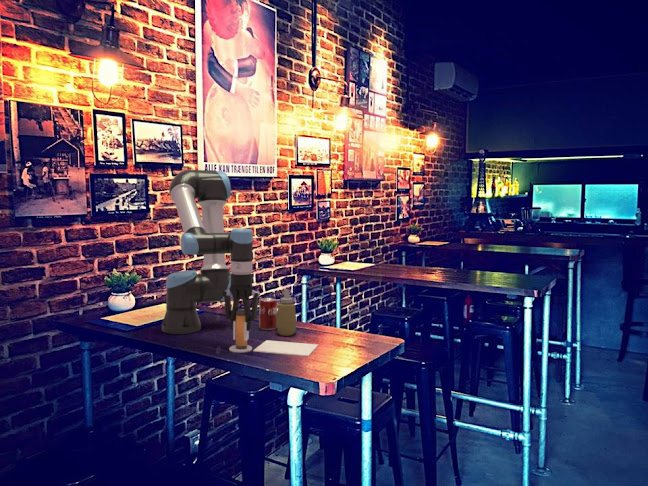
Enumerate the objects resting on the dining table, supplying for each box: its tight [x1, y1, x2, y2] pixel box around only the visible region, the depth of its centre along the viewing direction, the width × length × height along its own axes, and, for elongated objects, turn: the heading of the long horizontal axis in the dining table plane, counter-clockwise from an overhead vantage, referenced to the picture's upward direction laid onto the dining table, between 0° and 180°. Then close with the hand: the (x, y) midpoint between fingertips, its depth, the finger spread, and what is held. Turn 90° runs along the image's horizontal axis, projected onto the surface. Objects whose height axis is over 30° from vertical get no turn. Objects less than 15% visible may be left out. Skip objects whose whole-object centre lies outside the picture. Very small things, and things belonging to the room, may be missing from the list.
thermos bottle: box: [235, 308, 248, 350], centre depth 188 cm, size 4×4×14 cm
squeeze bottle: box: [276, 288, 298, 337], centre depth 210 cm, size 8×8×18 cm
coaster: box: [229, 344, 253, 354], centre depth 189 cm, size 8×8×1 cm
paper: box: [252, 339, 319, 357], centre depth 191 cm, size 20×14×1 cm
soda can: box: [258, 297, 278, 331], centre depth 220 cm, size 7×7×12 cm
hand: (241, 339), depth 188 cm, fingers closed on thermos bottle, 3 cm apart
